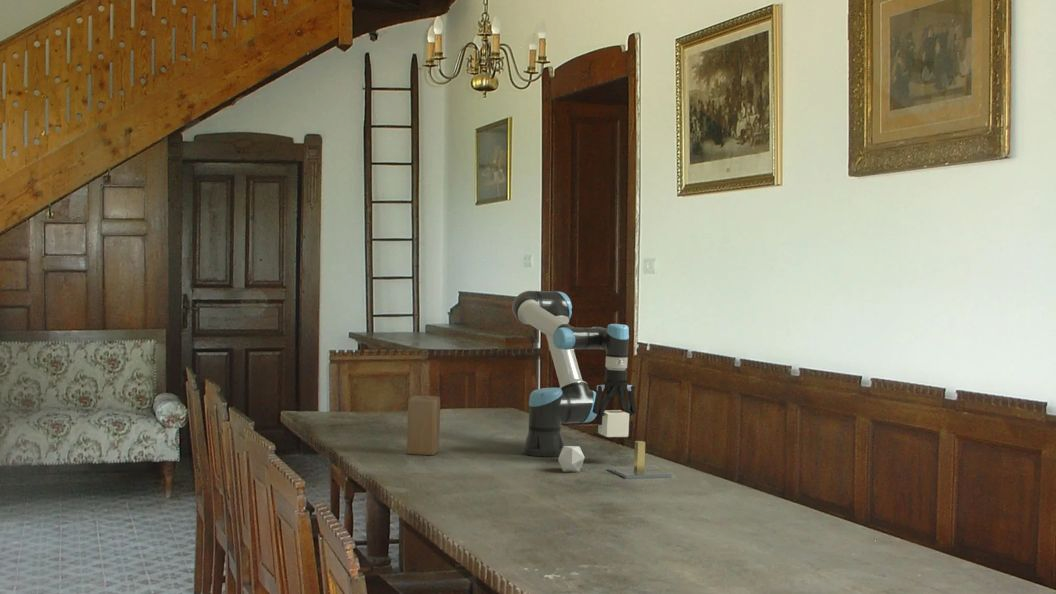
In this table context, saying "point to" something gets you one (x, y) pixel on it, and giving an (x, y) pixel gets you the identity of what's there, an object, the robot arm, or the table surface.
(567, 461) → the die
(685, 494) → the table surface
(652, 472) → the base plate
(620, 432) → the cream open box
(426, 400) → the wooden block
